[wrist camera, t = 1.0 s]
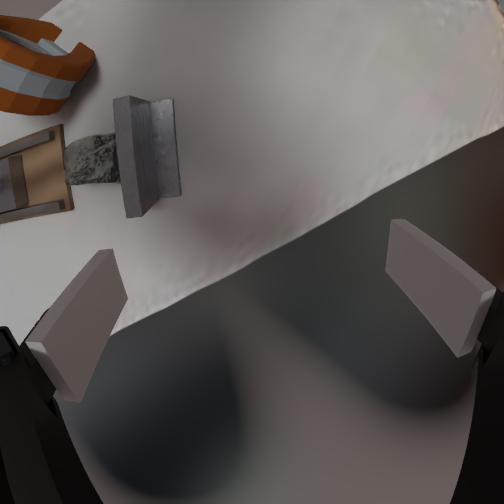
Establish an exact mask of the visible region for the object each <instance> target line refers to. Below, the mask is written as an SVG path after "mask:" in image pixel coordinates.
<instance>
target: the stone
mask: <svg viewBox="0 0 504 504" xmlns="http://www.w3.org/2000/svg"><path fill="white" fill-rule="evenodd" d="M63 157H64V158H63V161H64V165H65V171H64V172H63V173H64V175H65V183H66V185H80V184H87V183H121V179H120V171H119V163H118V155H117V145H116V135H115V133H111V134H105V135H93V136H88V137H85V138H82V139H79V140H76V141H75V142H72V143H71V144H69V145H68V146H67V148H65V150H64V154H63Z"/></svg>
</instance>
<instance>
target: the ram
mask: <svg viewBox="0 0 504 504" xmlns="http://www.w3.org/2000/svg"><path fill="white" fill-rule="evenodd" d="M26 203H28V197H27V192H26V187H25V181H24V174H23V167H22V160H21V155H17V156H13V157H10V158H7V159H4V160H2V161H0V212H4V211H8V210H12V209H16V208H18V207H20V206H22V205H24V204H26Z"/></svg>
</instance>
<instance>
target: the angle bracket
mask: <svg viewBox="0 0 504 504" xmlns="http://www.w3.org/2000/svg"><path fill="white" fill-rule="evenodd" d="M113 107H114V122H115V135H116V145H117V155H118V163H119V171H120V179H121V186H122V193H123V199H124V205H125V211H126V217H127V218H134V217H142V216H143V215H144V214H145V213H146V212H147V211H148V210H149V209H150V208H151V207H152V206H153V205H154V204H155V203H156V202H157V201H158V200H159V199H160V198H165V197H175V196H181V185H180V176H179V166H178V155H177V143H176V130H175V115H174V99H166V100H160V101H154V102H150V101H146V100H143V99H140V98H136V97H133V96H125V97H121V98H117V99H113Z"/></svg>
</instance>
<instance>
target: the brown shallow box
mask: <svg viewBox="0 0 504 504" xmlns="http://www.w3.org/2000/svg"><path fill="white" fill-rule="evenodd" d="M64 150H65V141H64V130H63V124H59V125H56V126H53V127H50V128H47V129H44V130H41V131H39V132H36V133H33V134H31V135H28V136H25V137H23V138H20V139H18V140H15V141H13V142H11V143H8V144H6V145H4V146H2V147H0V161H2V160H4V159H7V158H10V157H13V156H17V155H21V160H22V167H23V174H24V181H25V187H26V192H27V197H28V203H26V204H24V205H22V206H20V207H18V208H16V209H12V210H8V211H4V212H0V224H3V223H7V222H12V221H17V220H22V219H27V218H32V217H37V216H42V215H48V214H53V213H59V212H65V211H71V210H73V209H74V203H73V198H72V192H71V186H70V185H66V183H65V175H64V173H63V172H64V171H65V165H64V161H63V158H64V157H63V154H64Z"/></svg>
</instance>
